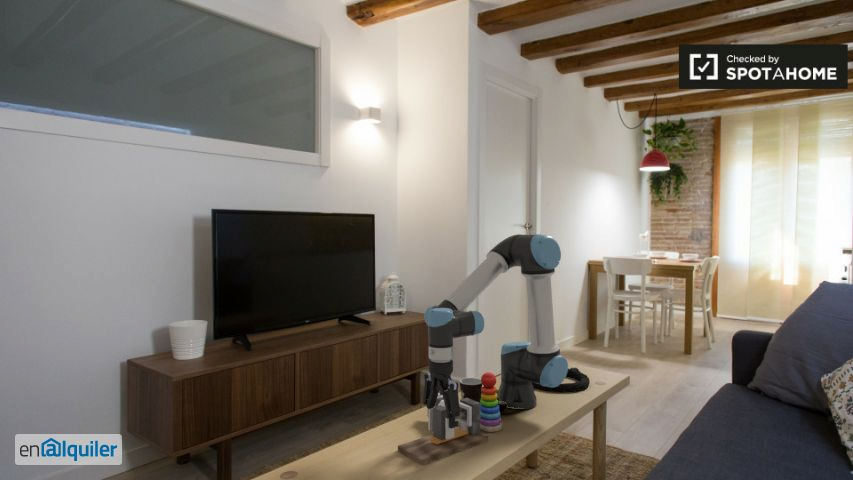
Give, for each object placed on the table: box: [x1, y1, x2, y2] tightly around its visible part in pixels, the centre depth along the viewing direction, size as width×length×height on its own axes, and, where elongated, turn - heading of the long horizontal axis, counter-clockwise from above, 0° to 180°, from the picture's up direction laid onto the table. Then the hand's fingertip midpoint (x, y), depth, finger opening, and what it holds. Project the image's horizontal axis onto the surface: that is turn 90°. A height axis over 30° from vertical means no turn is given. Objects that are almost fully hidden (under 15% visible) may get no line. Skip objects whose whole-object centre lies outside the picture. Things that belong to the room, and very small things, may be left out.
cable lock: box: [532, 367, 590, 393], centre depth 221 cm, size 28×4×30 cm
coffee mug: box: [459, 377, 483, 404], centre depth 188 cm, size 12×9×10 cm
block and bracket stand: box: [430, 401, 472, 445], centre depth 158 cm, size 13×6×10 cm, turn 128°
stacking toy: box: [480, 371, 503, 433], centre depth 170 cm, size 8×8×19 cm
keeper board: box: [397, 398, 489, 466], centre depth 157 cm, size 26×12×12 cm, turn 128°
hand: (441, 433), depth 156 cm, fingers open, 8 cm apart
